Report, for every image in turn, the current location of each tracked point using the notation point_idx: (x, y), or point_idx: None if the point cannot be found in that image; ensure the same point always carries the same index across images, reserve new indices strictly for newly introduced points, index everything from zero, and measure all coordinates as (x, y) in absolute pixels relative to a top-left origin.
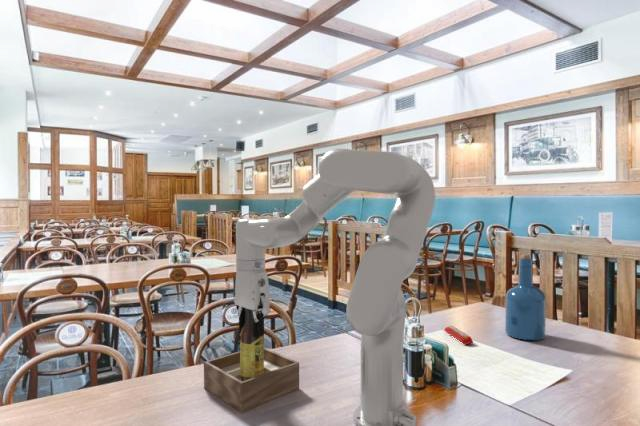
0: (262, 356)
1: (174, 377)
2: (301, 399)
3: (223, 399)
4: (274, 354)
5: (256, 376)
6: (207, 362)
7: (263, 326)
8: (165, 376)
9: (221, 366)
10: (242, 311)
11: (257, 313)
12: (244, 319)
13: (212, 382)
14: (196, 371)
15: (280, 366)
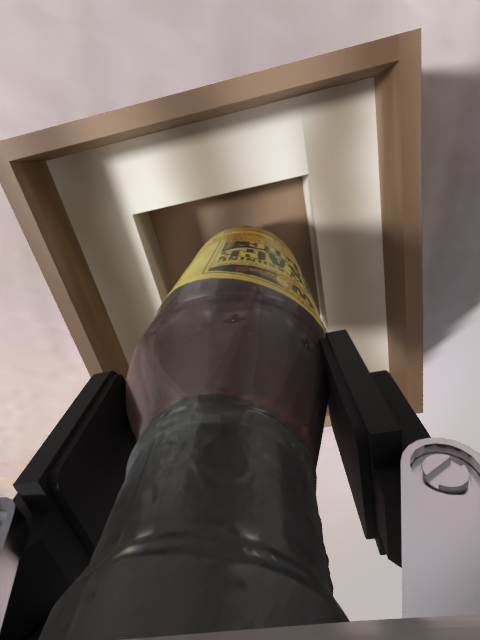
0: (300, 273)
1: (37, 436)
2: (455, 121)
3: None
4: (177, 118)
5: (407, 342)
6: None
7: (368, 379)
8: (20, 453)
9: (125, 370)
10: (18, 619)
11: (322, 572)
12: (104, 508)
13: None
14: (8, 375)
15: (243, 110)
